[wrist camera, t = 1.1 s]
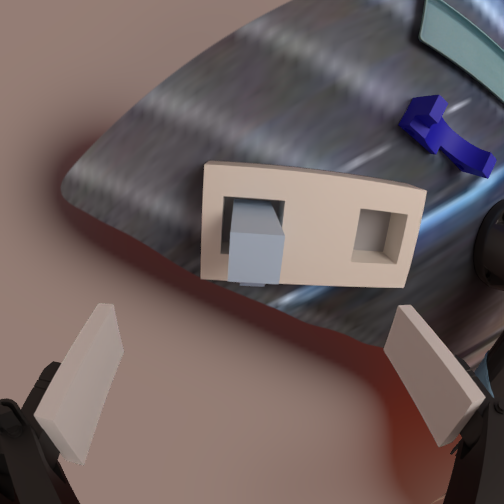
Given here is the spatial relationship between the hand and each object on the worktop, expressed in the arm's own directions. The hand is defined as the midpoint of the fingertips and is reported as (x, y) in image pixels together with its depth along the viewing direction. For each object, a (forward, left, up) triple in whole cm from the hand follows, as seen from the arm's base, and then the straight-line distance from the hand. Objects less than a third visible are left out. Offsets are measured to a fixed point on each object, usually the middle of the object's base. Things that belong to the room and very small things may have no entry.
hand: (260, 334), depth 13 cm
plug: (0, +1, -22) cm, 22 cm away
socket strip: (-7, +1, -23) cm, 24 cm away
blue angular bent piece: (-24, -12, -24) cm, 35 cm away
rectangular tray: (-32, -26, -24) cm, 48 cm away
